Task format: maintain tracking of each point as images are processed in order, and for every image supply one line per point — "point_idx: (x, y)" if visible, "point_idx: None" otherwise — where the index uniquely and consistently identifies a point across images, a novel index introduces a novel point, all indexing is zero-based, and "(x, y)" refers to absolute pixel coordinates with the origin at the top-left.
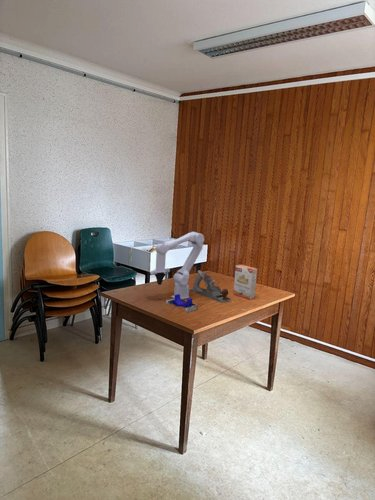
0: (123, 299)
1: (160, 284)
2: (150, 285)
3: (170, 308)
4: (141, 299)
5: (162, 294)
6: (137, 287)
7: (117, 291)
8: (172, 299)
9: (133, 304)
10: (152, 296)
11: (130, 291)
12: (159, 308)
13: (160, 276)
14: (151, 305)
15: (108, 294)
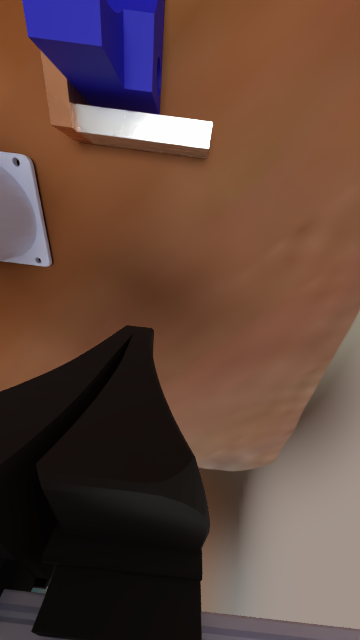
0: (296, 397)
1: (139, 327)
2: None
3: (282, 5)
4: (236, 349)
5: (71, 333)
6: None
7: (215, 460)
8: (132, 126)
9: (349, 321)
10: None
11: None
12: (343, 111)
13: (157, 435)
14: (304, 228)
15: (273, 458)
